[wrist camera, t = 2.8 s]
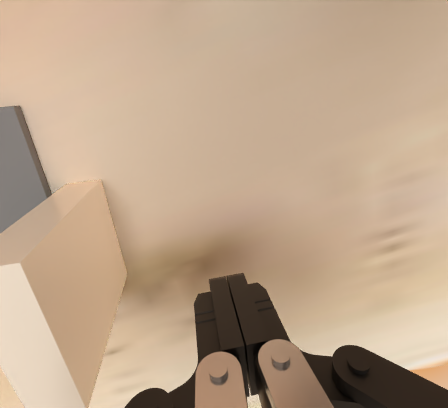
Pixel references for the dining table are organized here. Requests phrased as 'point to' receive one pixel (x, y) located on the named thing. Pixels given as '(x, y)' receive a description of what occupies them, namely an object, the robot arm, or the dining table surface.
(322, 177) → the dining table surface
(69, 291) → the tile
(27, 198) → the mat
